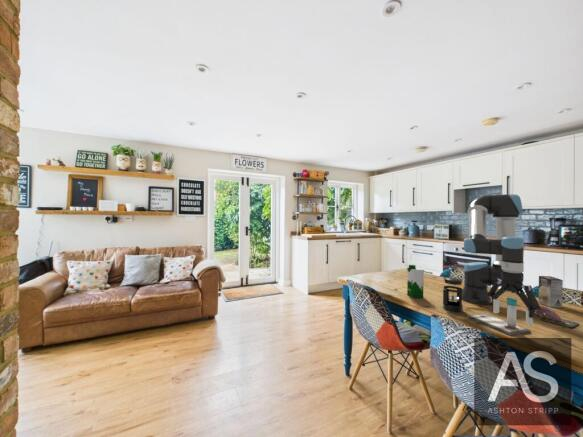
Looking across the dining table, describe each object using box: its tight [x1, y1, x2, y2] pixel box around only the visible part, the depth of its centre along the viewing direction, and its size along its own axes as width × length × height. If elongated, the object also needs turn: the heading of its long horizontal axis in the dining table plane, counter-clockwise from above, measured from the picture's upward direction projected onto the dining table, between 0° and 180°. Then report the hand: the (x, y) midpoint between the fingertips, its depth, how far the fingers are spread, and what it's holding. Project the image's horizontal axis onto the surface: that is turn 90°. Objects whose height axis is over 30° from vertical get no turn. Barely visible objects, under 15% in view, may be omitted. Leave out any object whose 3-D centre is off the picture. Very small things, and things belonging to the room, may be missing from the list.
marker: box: [506, 297, 518, 329], centre depth 113 cm, size 3×3×13 cm
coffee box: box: [538, 275, 564, 308], centre depth 148 cm, size 9×6×16 cm
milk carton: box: [406, 264, 425, 299], centre depth 162 cm, size 9×9×20 cm
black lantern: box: [442, 267, 464, 314], centre depth 139 cm, size 12×9×23 cm
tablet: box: [466, 313, 532, 336], centre depth 119 cm, size 20×12×1 cm, turn 13°
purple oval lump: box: [535, 305, 562, 322], centre depth 128 cm, size 10×5×7 cm, turn 7°
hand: (511, 318), depth 113 cm, fingers open, 13 cm apart
